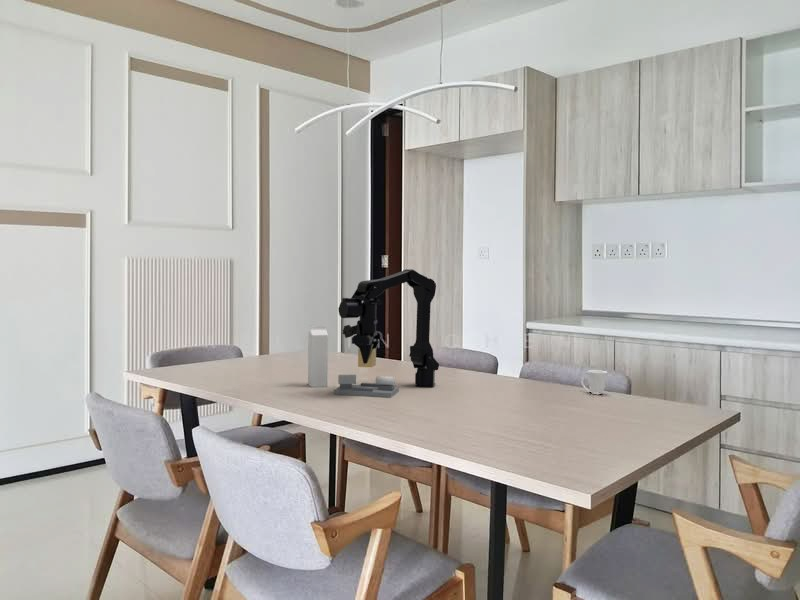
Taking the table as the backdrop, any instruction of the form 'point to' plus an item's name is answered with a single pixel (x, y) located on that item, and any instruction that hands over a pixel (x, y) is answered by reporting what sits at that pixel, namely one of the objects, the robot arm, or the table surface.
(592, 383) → the cup
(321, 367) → the milk
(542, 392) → the table surface
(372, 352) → the gold square block
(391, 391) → the grey stepped stand
